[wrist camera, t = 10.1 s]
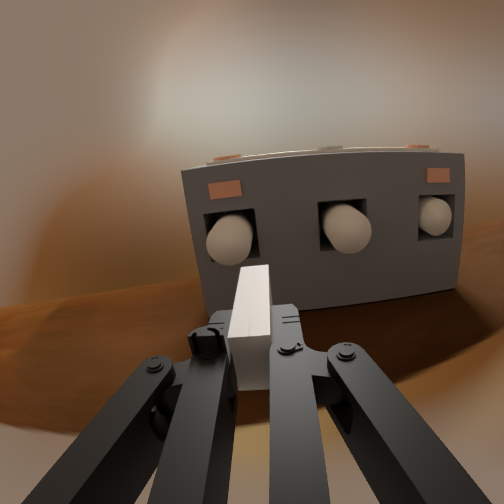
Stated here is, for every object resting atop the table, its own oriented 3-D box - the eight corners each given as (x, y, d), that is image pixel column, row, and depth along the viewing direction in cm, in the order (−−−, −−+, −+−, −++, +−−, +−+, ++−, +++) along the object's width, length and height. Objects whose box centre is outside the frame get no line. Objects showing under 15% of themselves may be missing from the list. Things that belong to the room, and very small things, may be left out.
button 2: (428, 222, 33) (428, 190, 31) (450, 234, 27) (452, 198, 26) (402, 224, 33) (402, 192, 32) (422, 237, 28) (423, 200, 27)
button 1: (255, 244, 32) (251, 208, 31) (253, 263, 27) (247, 220, 26) (219, 248, 32) (213, 212, 31) (210, 267, 27) (202, 225, 26)
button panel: (425, 261, 38) (426, 145, 33) (456, 288, 29) (465, 147, 24) (220, 282, 41) (200, 160, 35) (207, 318, 32) (179, 163, 27)
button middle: (355, 234, 31) (354, 198, 30) (371, 251, 26) (371, 209, 25) (320, 238, 31) (318, 201, 30) (330, 255, 26) (328, 212, 25)
